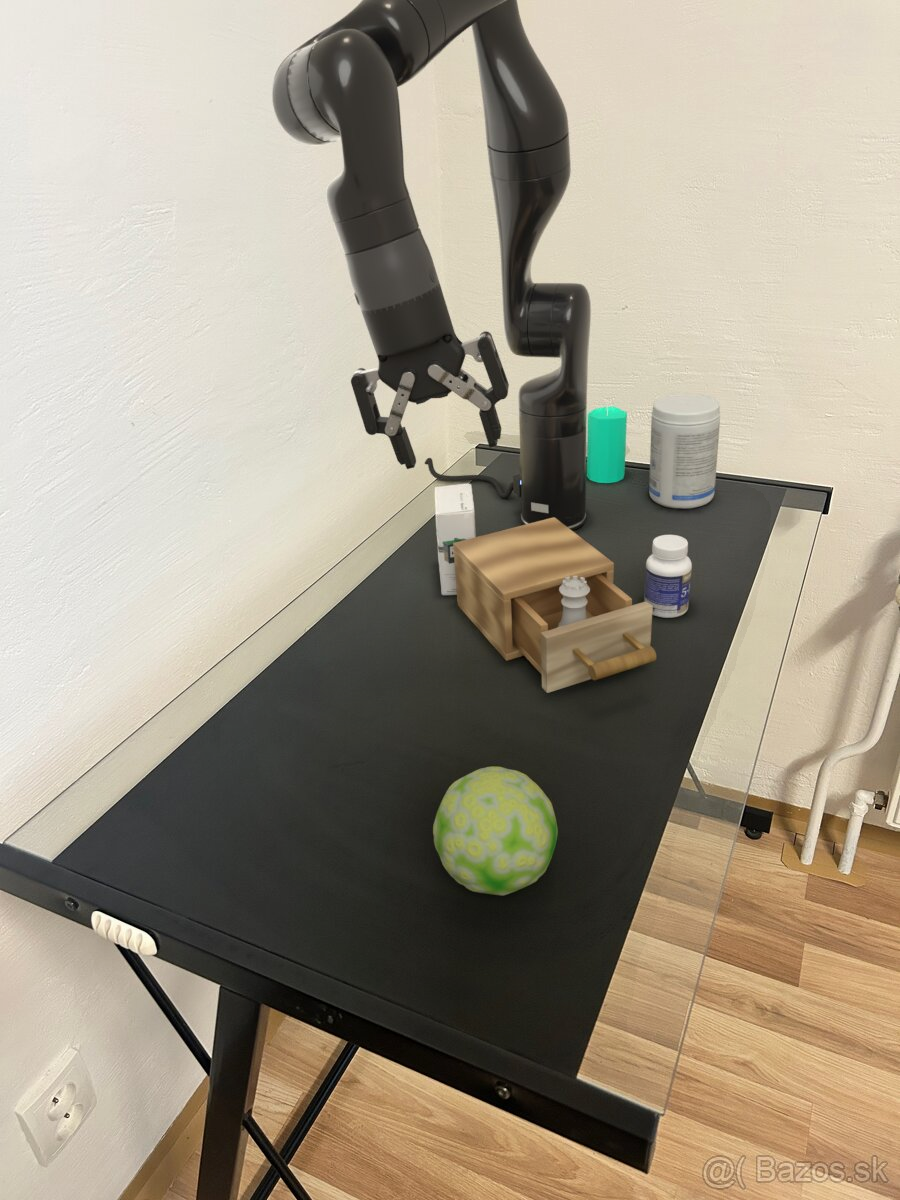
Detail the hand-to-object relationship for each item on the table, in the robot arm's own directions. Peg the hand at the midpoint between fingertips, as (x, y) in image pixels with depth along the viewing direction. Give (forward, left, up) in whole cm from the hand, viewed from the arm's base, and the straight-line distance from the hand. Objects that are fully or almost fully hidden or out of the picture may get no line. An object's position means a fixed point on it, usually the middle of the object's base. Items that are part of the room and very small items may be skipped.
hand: (452, 454), depth 87 cm
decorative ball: (+29, -10, -25) cm, 40 cm away
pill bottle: (+1, +26, -25) cm, 36 cm away
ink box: (-18, +7, -25) cm, 31 cm away
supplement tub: (-24, +46, -25) cm, 57 cm away
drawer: (+7, +11, -24) cm, 27 cm away
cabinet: (-5, +11, -25) cm, 27 cm away
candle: (-37, +41, -25) cm, 60 cm away
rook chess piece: (+6, +11, -23) cm, 26 cm away
